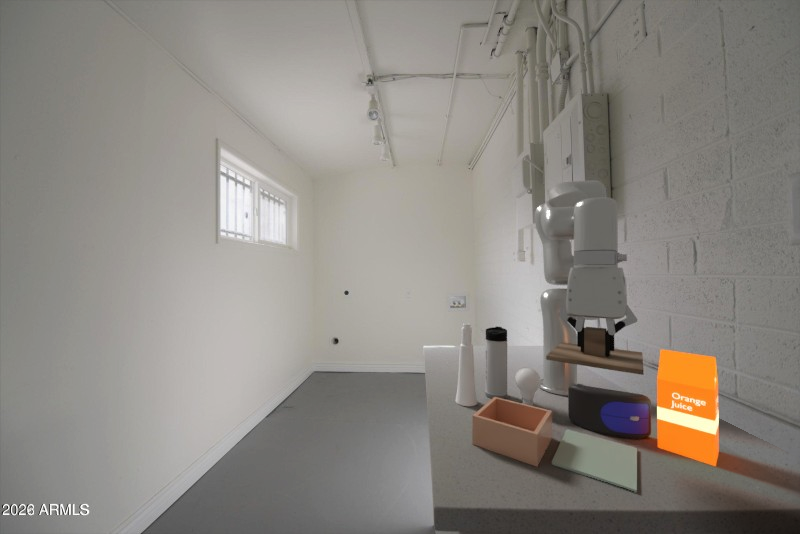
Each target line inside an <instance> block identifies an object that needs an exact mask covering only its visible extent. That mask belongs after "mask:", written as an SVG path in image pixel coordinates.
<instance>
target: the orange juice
mask: <svg viewBox="0 0 800 534" xmlns="http://www.w3.org/2000/svg"><path fill="white" fill-rule="evenodd" d="M656 385H657V386H656V387H657V389H656V391H657V392H656V394H657V395H656V396H657V398H656V403H657V405H656V421H657V448H659V449H661V450H665V451H667V452H669V453H670V452H671V453H673V454H677V455H680V456H683V457H685V458H690V459H691V460H696V461H697V462H700V463H705V464H707V465H711V466H713V467H717V461H718V457H719V453H720V441H719V438H720V437H719V435H720V433H719V432H720V431H719V430H720V428H719V427H720V426H719V423H720V422H719V421H720V417H719V416H720V415H719V414H720V410H719V380H718V369H717V359H716V357H715V356H711V355H710V356H709V355H702V354H696V353H688V352H682V351H677V350H676V351H675V350H668V349H662V348H661V349H660V352H659V362H658V369H657V377H656Z"/></svg>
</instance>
